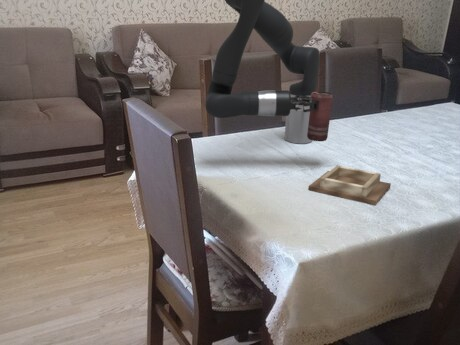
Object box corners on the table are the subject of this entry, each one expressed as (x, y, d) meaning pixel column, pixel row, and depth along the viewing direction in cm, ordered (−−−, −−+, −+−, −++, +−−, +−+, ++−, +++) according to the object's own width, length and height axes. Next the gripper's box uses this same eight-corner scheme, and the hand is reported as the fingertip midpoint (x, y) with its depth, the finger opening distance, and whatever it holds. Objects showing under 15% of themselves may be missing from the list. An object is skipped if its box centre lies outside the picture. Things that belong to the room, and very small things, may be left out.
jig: (308, 190, 122) (309, 177, 121) (327, 174, 133) (328, 162, 132) (375, 205, 113) (377, 191, 112) (390, 187, 124) (391, 174, 123)
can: (303, 135, 140) (309, 90, 136) (323, 136, 141) (329, 91, 136) (308, 141, 135) (314, 94, 130) (329, 141, 135) (335, 95, 130)
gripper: (276, 95, 126) (338, 95, 127) (271, 86, 139) (327, 86, 139) (275, 121, 129) (335, 121, 129) (270, 110, 141) (325, 110, 142)
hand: (331, 103), depth 134 cm, fingers closed
